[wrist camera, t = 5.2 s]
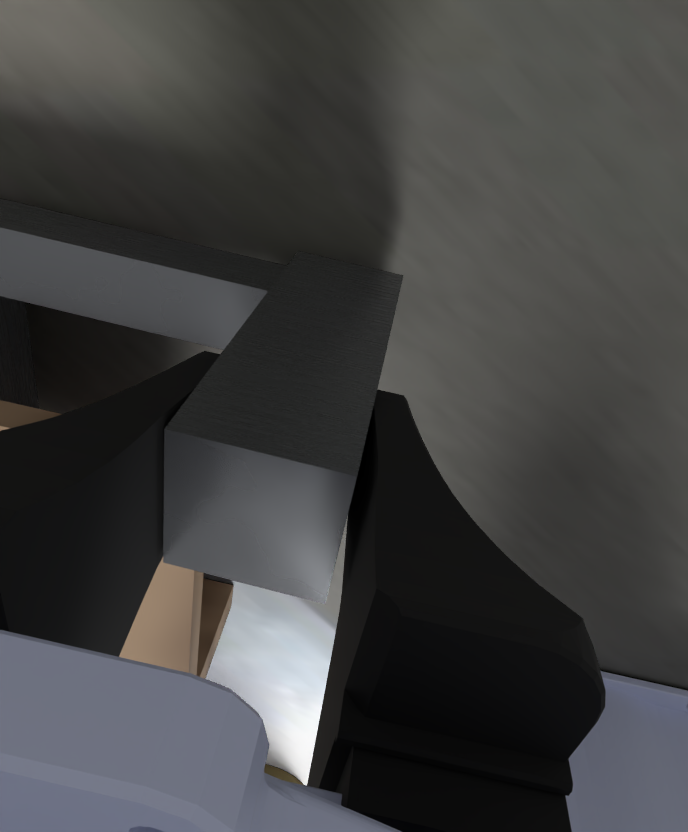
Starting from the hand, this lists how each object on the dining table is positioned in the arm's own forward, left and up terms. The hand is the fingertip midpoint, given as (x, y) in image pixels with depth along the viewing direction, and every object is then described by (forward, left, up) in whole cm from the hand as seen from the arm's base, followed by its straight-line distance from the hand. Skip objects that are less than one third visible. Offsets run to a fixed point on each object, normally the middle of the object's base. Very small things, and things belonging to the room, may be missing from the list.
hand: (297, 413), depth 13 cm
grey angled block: (0, 0, -6) cm, 6 cm away
